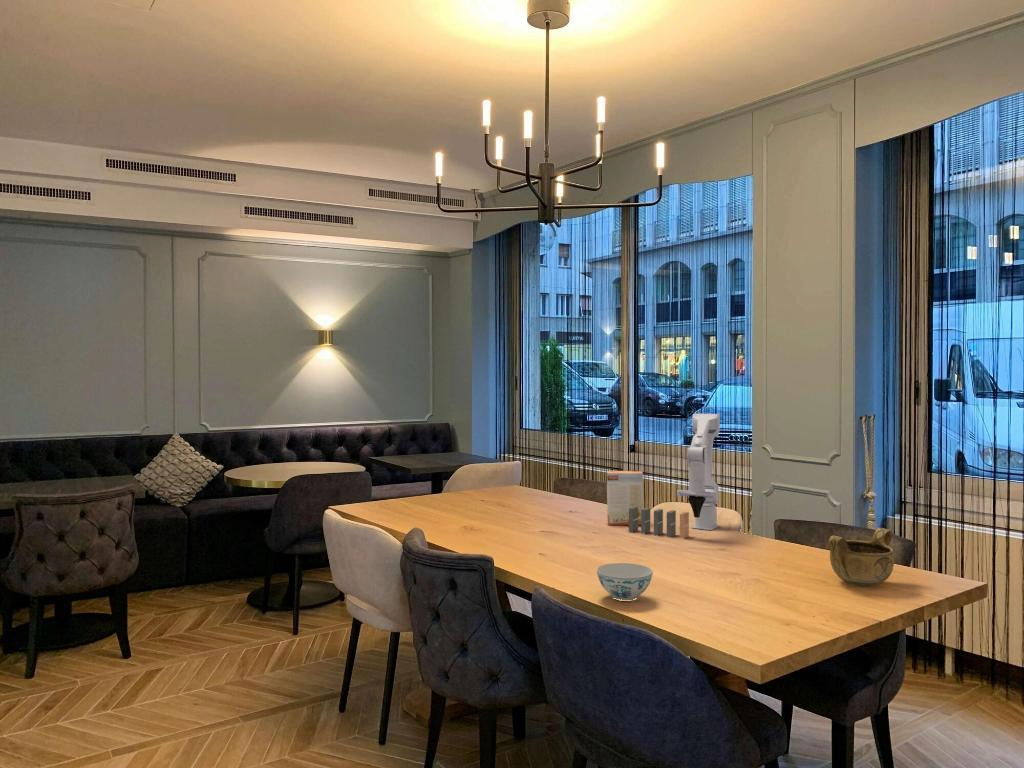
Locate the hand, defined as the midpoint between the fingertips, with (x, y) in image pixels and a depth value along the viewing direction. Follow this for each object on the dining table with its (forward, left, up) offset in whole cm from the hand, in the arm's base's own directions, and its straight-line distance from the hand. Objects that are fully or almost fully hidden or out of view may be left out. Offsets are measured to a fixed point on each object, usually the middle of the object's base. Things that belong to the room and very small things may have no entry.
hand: (696, 517), depth 278 cm
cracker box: (-10, -33, -8) cm, 35 cm away
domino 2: (0, -15, -8) cm, 17 cm away
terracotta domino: (0, -5, -8) cm, 9 cm away
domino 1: (0, -20, -8) cm, 21 cm away
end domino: (0, -25, -8) cm, 26 cm away
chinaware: (+79, +7, -8) cm, 80 cm away
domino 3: (0, -10, -8) cm, 13 cm away
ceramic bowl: (+31, +59, -8) cm, 67 cm away
